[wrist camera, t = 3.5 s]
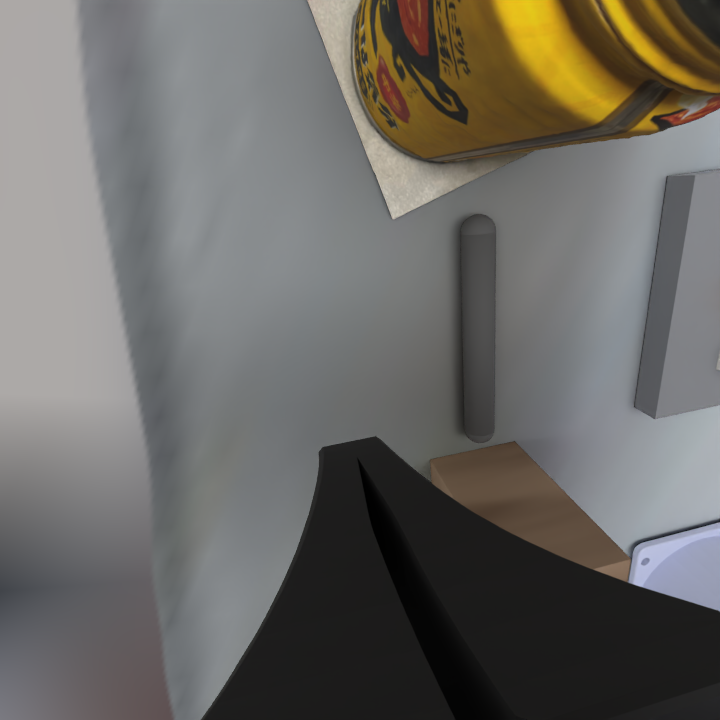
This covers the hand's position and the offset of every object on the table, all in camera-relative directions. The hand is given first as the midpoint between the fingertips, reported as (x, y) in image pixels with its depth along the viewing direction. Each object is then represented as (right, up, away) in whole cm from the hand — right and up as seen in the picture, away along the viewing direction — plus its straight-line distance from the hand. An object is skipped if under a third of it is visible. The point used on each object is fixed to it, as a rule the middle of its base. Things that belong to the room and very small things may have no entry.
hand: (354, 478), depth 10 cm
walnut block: (+5, -3, +11) cm, 12 cm away
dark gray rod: (+5, +4, +8) cm, 10 cm away
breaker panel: (+16, +6, +9) cm, 20 cm away
